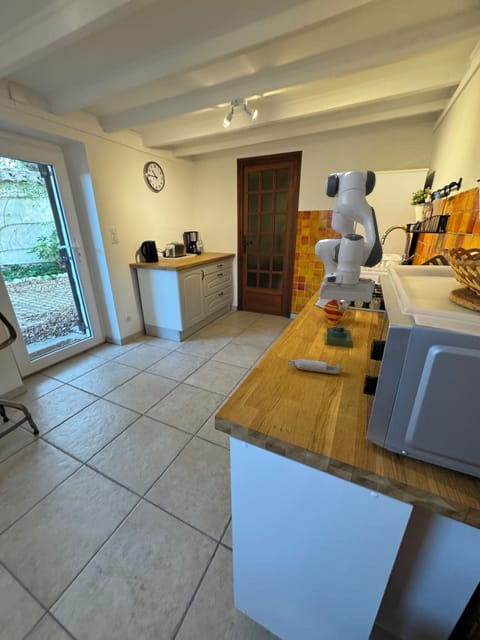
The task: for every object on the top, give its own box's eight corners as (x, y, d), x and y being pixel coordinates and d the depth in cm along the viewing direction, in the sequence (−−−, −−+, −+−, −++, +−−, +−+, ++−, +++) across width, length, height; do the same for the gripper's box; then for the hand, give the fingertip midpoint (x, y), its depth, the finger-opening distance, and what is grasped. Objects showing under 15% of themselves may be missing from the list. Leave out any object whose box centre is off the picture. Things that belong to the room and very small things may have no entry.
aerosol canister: (339, 370, 89) (342, 353, 87) (341, 377, 85) (344, 360, 82) (288, 363, 93) (289, 347, 91) (287, 370, 89) (288, 354, 87)
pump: (334, 328, 112) (335, 324, 111) (343, 329, 110) (344, 325, 110) (335, 331, 108) (335, 327, 108) (343, 332, 107) (344, 328, 107)
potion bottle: (340, 318, 134) (344, 291, 129) (345, 326, 125) (350, 297, 119) (319, 318, 135) (323, 291, 130) (323, 325, 126) (327, 296, 120)
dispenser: (325, 333, 118) (327, 323, 116) (349, 335, 115) (350, 325, 113) (325, 344, 107) (327, 334, 105) (351, 347, 104) (353, 337, 103)
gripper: (374, 277, 101) (368, 310, 106) (321, 274, 106) (317, 305, 112) (377, 280, 95) (370, 315, 100) (320, 277, 101) (317, 310, 106)
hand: (342, 310), depth 106 cm, fingers closed
